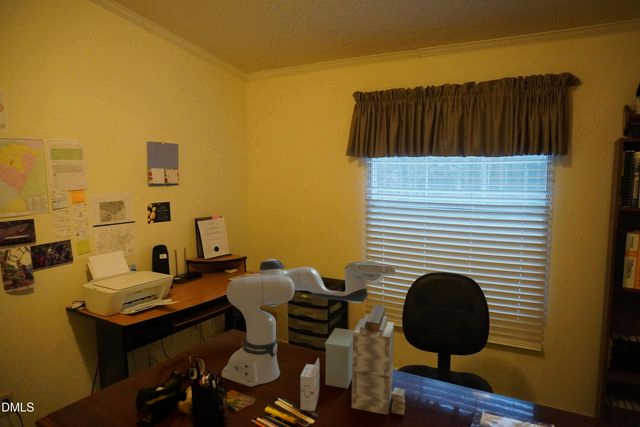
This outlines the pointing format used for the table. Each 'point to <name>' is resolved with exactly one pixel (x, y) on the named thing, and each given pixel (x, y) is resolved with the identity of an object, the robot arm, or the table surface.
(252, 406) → the table surface
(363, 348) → the birch rack
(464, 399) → the table surface
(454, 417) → the table surface
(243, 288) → the robot arm
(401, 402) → the offcut stack
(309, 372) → the ink cartridge box
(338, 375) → the pale grey upright box
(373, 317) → the walnut strip
